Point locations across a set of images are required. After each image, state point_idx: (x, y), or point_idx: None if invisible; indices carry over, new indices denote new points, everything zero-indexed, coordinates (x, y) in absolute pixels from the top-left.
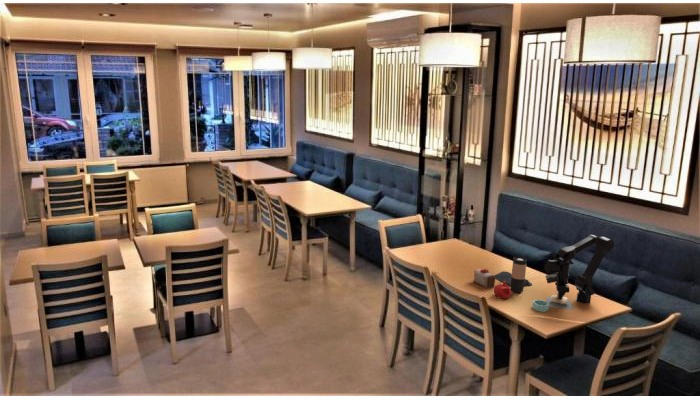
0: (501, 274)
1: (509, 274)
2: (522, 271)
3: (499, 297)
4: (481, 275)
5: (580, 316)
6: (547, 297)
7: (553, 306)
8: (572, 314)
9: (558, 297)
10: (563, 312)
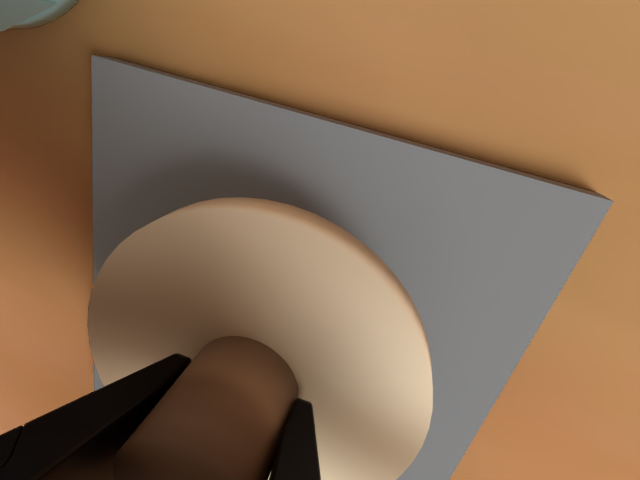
0: None
1: None
2: None
3: None
4: None
5: (13, 389)
6: (558, 216)
7: (124, 171)
8: (27, 335)
9: (188, 365)
10: (39, 254)
